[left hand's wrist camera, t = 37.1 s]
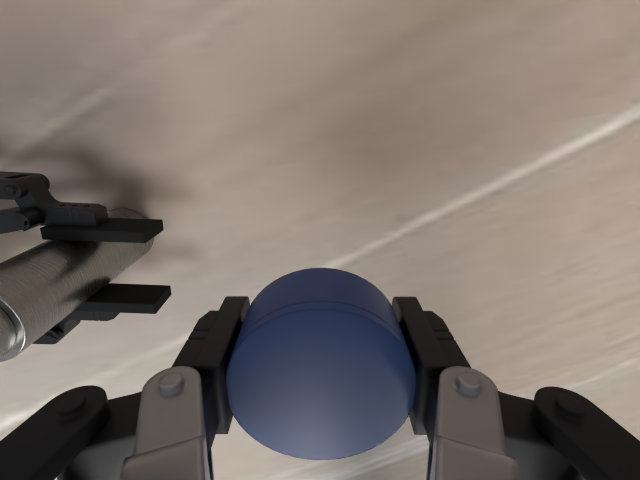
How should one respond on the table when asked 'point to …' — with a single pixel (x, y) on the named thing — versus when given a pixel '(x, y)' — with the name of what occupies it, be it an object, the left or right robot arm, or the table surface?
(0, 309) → the metal thermos flask
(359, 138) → the table surface
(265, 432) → the lid
